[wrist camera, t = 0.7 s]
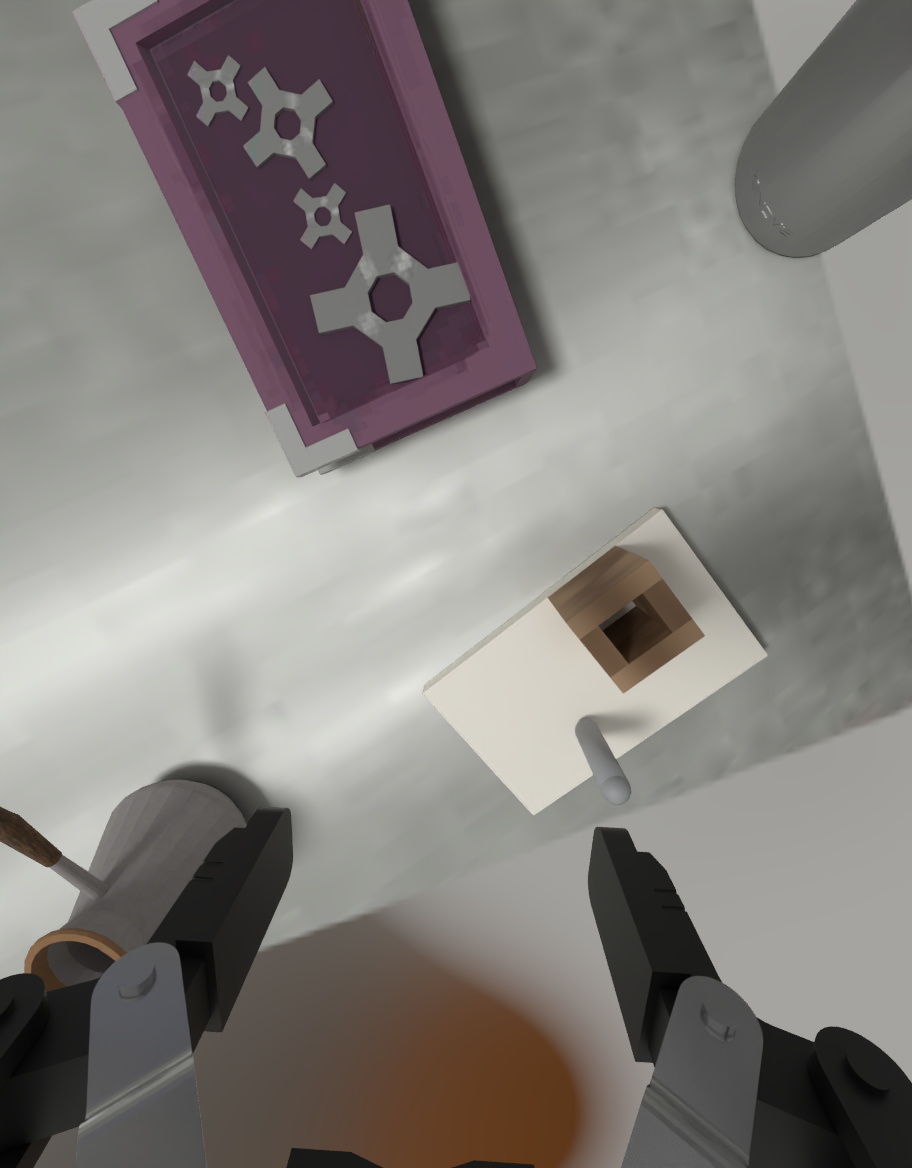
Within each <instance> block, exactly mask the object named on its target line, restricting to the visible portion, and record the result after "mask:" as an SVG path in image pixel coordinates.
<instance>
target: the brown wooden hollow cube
mask: <svg viewBox="0 0 912 1168" xmlns="http://www.w3.org/2000/svg"><path fill="white" fill-rule="evenodd" d="M548 599H549V600H550V602H551V603H552V605H553V606H554V607H555V609H556V610H557V611H558V613H559V614H560V616H561V617H562V618H563V620H564V621H565V622H566V624H567V625H568V626H569V627H570V629H571V630H572V631H573V632H574V634H575V635H576V636H577V637H578V639H579V640H580V641H581V642H582V643H583V645H584V646H585V647H586V648H587V650H588V651H589V652H590V653H591V655H592V656H593V657H594V658H595V660H596V661H597V662H598V663H599V664H600V666H601V667H602V668H603V669H604V671H605V672H606V673H607V674H608V676H609V677H610V678H611V679H612V681H613V682H614V683H615V684H616V685H617V687H618V688H619V689H620V690H621V692H622V693H623V694H624V693H625V692H627V691H628V690H629V689H631V688H632V687H634V686H635V685H636V684H638V683H639V682H641V681H642V680H644V679H645V678H646V677H648V676H649V675H651V674H652V673H653V672H655V671H656V670H658V669H659V668H661V667H662V666H663V665H665V664H666V663H668V662H669V661H670V660H672V659H673V658H675V657H676V656H678V655H679V654H680V653H682V652H683V651H685V650H686V649H687V648H689V647H690V646H692V645H693V644H695V643H696V642H697V641H699V640H700V639H702V638H703V637H704V636H705V635H704V633H703V632H702V631H701V629H700V628H699V627H698V625H697V624H696V623H695V621H694V620H693V619H692V617H691V616H690V615H689V613H688V612H687V611H686V609H685V608H684V607H683V605H682V604H681V603H680V601H679V600H678V599H677V597H676V596H675V595H674V593H673V592H672V591H671V589H670V588H669V587H668V585H667V584H666V582H665V581H664V580H663V578H662V577H661V576H660V574H659V573H658V572H657V570H656V569H655V568H654V566H653V565H652V564H651V562H650V561H649V560H647V559H645V558H643V557H640V556H638V555H636V554H633V553H631V552H629V551H627V550H624V549H622V548H620V547H617V546H614V547H613V548H611V549H610V550H609V551H607V552H606V553H605V554H604V555H602V556H601V557H600V558H598V559H597V560H596V561H594V562H593V563H592V564H591V565H589V566H588V567H587V568H585V569H584V570H583V571H581V572H580V573H579V574H578V575H576V576H575V577H574V578H572V579H571V580H570V581H568V582H567V583H566V584H565V585H563V586H562V587H561V588H559V589H558V590H557V591H555V592H554V593H553V594H551V595H550V596H549V597H548ZM631 601H633V603H634V604H635V605H636V606H635V607H634V608H633V609H631V610H630V611H628V612H627V613H626V614H624V615H623V616H622V617H620V618H619V619H618V620H616V621H615V622H614V623H612V624H611V625H609V626H608V627H607V628H605V629H604V630H603V631H602V630H601V628H600V627H599V625H600V624H601V623H603V622H604V621H606V620H607V619H608V618H610V617H611V616H612V615H614V614H615V613H616V612H618V611H619V610H620V609H622V608H623V607H624V606H626V605H627V604H628V603H630V602H631Z"/></svg>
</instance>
